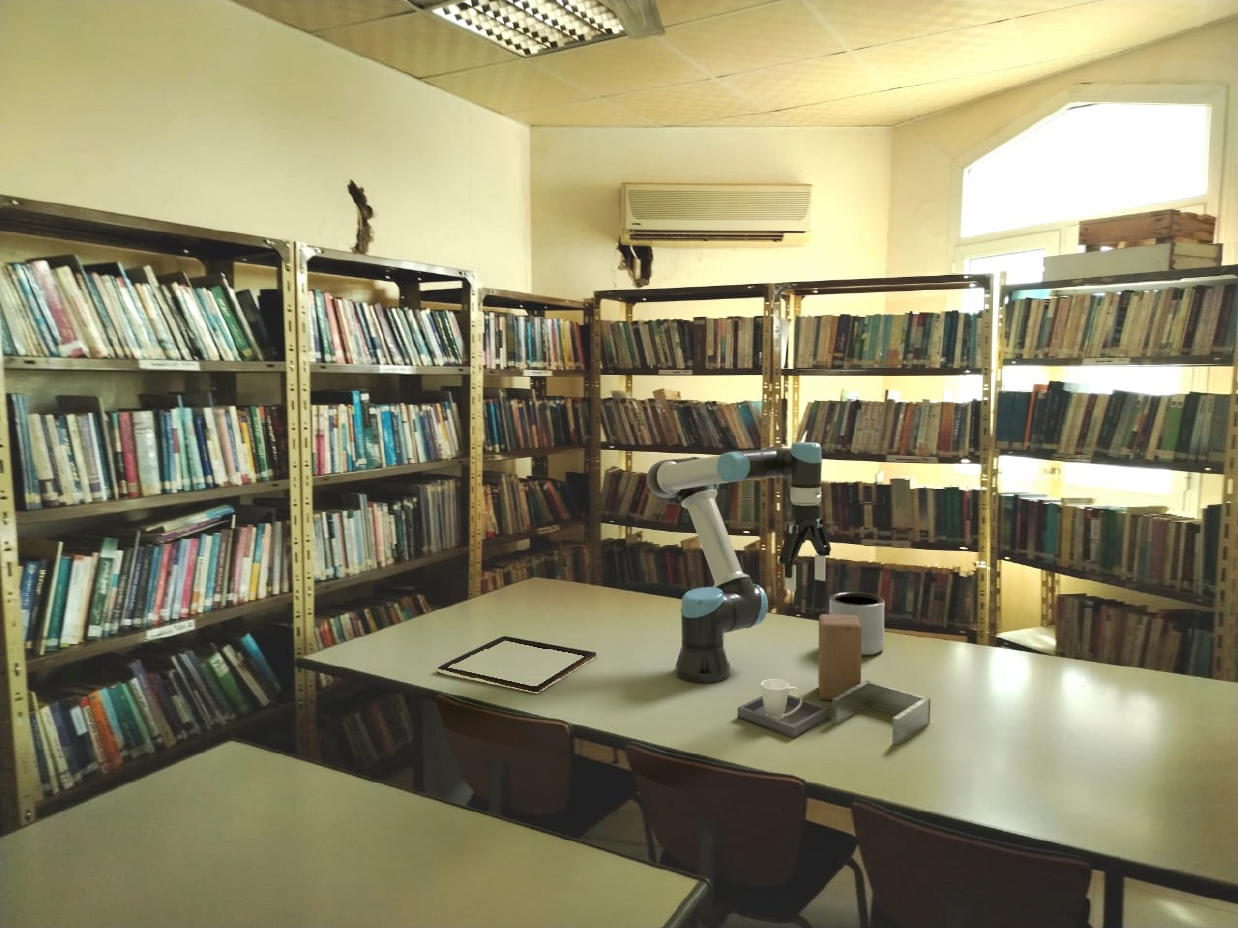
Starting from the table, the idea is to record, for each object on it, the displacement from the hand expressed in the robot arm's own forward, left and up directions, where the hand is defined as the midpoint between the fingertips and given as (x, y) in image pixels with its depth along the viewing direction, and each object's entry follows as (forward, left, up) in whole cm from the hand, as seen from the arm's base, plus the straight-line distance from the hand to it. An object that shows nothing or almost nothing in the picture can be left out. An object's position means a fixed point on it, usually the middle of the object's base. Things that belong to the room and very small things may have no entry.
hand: (805, 584), depth 200 cm
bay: (+23, -3, -29) cm, 37 cm away
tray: (+5, -17, -29) cm, 34 cm away
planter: (-8, +40, -29) cm, 50 cm away
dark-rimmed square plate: (-71, -40, -29) cm, 87 cm away
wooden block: (+7, +5, -29) cm, 30 cm away
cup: (+5, -18, -28) cm, 34 cm away
